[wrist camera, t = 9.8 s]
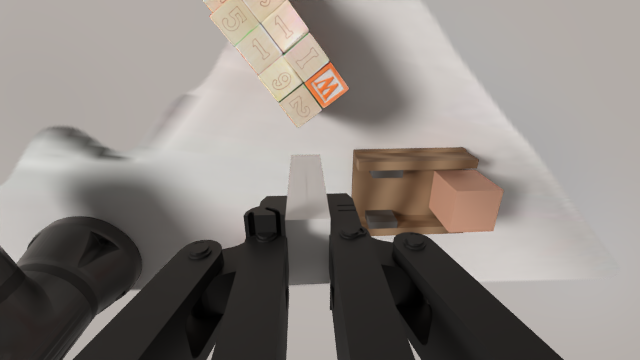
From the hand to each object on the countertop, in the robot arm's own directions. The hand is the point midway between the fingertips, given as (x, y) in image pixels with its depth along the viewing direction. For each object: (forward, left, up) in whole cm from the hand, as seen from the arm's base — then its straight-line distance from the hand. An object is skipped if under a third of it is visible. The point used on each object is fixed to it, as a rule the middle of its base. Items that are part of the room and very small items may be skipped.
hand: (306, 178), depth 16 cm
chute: (+15, -13, -26) cm, 33 cm away
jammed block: (+22, -13, -25) cm, 36 cm away
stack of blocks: (-4, +9, -27) cm, 29 cm away
